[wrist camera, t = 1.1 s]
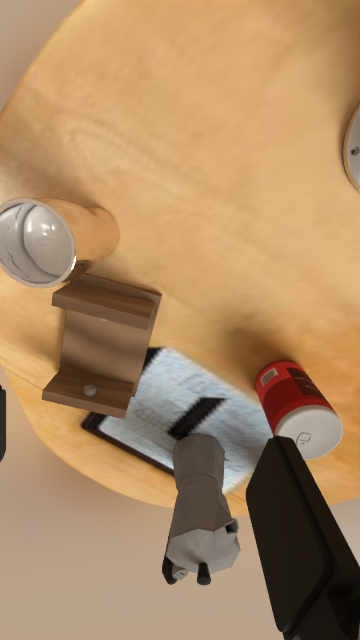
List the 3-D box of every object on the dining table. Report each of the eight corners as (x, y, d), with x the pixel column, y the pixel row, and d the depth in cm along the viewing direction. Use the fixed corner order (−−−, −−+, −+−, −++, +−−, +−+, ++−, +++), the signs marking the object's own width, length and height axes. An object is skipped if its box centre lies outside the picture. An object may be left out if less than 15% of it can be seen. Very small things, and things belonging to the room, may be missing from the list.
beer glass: (64, 249, 35) (-19, 273, 21) (75, 194, 32) (-12, 178, 18) (115, 268, 35) (68, 303, 21) (130, 215, 33) (88, 215, 19)
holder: (75, 270, 36) (49, 283, 29) (161, 294, 36) (156, 312, 30) (61, 374, 42) (37, 404, 35) (135, 392, 43) (126, 425, 36)
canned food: (252, 401, 43) (272, 460, 33) (257, 358, 40) (281, 408, 30) (300, 402, 43) (335, 461, 32) (308, 358, 40) (351, 408, 29)
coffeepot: (198, 416, 44) (205, 539, 27) (242, 442, 46) (274, 572, 29) (149, 470, 49) (129, 602, 32) (190, 491, 51) (192, 627, 34)
